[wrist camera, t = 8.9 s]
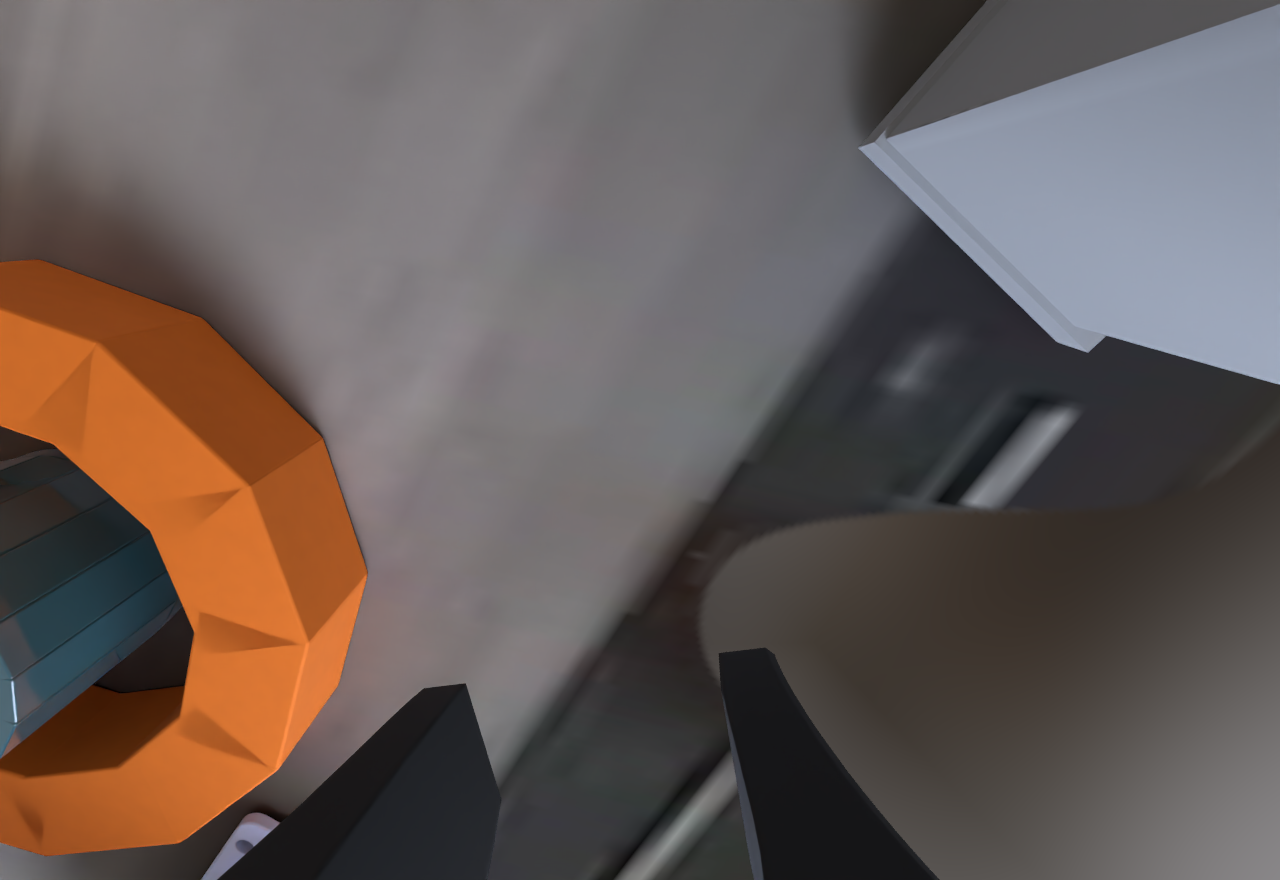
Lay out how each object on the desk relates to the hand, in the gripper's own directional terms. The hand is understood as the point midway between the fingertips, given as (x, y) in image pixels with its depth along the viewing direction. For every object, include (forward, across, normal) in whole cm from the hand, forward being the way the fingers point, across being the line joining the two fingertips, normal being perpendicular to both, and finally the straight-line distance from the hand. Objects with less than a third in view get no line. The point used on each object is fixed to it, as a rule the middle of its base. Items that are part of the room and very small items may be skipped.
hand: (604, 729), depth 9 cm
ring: (+7, +14, -1) cm, 16 cm away
